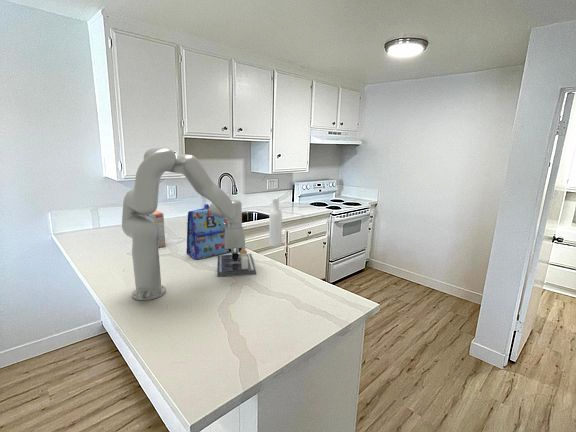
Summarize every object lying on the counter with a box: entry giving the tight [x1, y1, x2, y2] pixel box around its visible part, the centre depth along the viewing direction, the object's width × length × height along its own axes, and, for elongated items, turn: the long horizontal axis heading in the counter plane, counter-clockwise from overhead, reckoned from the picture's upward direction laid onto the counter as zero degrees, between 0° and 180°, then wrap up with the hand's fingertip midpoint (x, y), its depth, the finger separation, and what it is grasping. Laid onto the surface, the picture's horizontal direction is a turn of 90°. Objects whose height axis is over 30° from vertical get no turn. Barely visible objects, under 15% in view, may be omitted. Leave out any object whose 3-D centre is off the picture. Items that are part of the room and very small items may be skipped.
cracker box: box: [147, 209, 166, 249], centre depth 186 cm, size 14×6×21 cm, turn 41°
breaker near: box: [241, 256, 248, 269], centre depth 147 cm, size 4×3×5 cm
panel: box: [216, 253, 257, 278], centre depth 154 cm, size 24×18×2 cm
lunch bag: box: [185, 203, 231, 261], centre depth 171 cm, size 22×14×29 cm, turn 129°
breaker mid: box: [240, 249, 248, 257], centre depth 154 cm, size 4×3×6 cm
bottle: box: [268, 196, 283, 248], centre depth 186 cm, size 8×8×30 cm
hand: (235, 260), depth 154 cm, fingers closed
